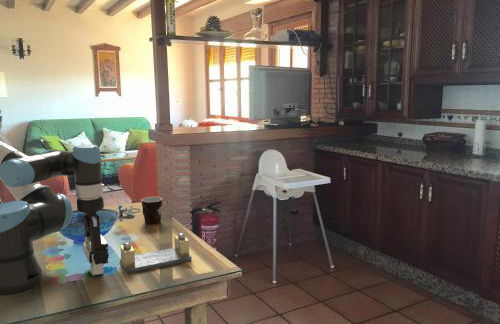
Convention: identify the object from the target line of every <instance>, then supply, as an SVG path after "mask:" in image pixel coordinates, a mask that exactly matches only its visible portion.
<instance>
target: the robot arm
mask: <svg viewBox="0 0 500 324" xmlns="http://www.w3.org/2000/svg"><path fill="white" fill-rule="evenodd" d="M1 113H2V110H1V109H0V180H1V182H2V183H3V184H4V186H5V187H6V188H7V190H8V191H9V193H10V194H11V195H12V196H13V198H14V199H15V200H11V201H9V202H2V203H0V296H1V295H2V296H3V295H11V294H17V293H21V292H24V291H26V290H29V289H31V288H34V287H36V286H37V285H39V284H41V282H42V281H43V279H44V278H43V277H44V275H43V270H42V267H41V265H40V263H39V261H38V259H37V257H36V255H35V253H34V251H35V250H34V242H35V241H37V240H39V239H43V238H45V237H47V236H50V235H52V234H56V233H58V232H60V231H61V230H63V229H65V228H67V226H69V224H70V223H71V221H72V219H73V207H72V203H71V201H70V199H69V197H68V196H67V195H65V194H63V193H59V192H56V193H55V192H54V190H52V188H51V187H50V186H49V185H45V184H44V185H43V184H41V181H42V182H43V181H46V180H49V179H53V178H58V177H61V176H63V177H64V176H65V177H74V187H75V197H76V210H77V211H78V212H80V213H83V221H84V237H85V236H89V235H90V239H91V246H92V252H90V255H92V266H93V275H95V274H99V275H101V274H100V273H103V272H104V266H103V265H102V263H101V261H100V253H103V250H102V242H101V235H102V234H101V233H102V232H101V225H100V221H101V220H100V216H99V215H98V213H97V212H98V211H102V210H103V209H104V208H105V206H104V205H105V203H104V197H103V194H104V193H103V190H104V188H105V184H104V183H103V178H102V177H103V175H102V158H101V157H102V156H101V151H100V150H101V149H100V147H99V146H98V145H96V144H78V145H74V146H73V147H72V150H61V149H47V150H44V151H43V152H42V153H39V154H33V155H27V154H25V153H24V152H22V151H20V150H18V149H16V148H14V146H13V145H12V143H11V142H10V141H9V140H8V138H7V137H6V135H5V134H4V133H3V132H2V130H1V129H2V127H3V124H2V121H3V115H2V114H1ZM94 254H95V261H94V259H93V256H94ZM86 259H87V258H86ZM86 261H88V259H87V260H86ZM103 274H104V273H103ZM95 276H96V275H95Z"/></svg>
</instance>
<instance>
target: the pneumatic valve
mask: <svg viewBox="0 0 500 324" xmlns="http://www.w3.org/2000/svg"><path fill="white" fill-rule="evenodd" d="M101 242H102V250H103V253H100V261H101V263H102V265H103V267H104V265H106V264H109V256H110V255H109V243H108V242H107V240H106V239H105V238H104V236H102V234H101ZM82 250H83V251H82V252H83V254H84V255H85V257H86V259H88V260H87V261H88V262H89V264H90V266H89V267H90V268H89V273H91V275H92V276H93V277H95V276H98V275H99V276H100V275H104V273H105V272H104V271H103V273H100V274H95V275H93V266H92V255H90V252H92V246H91V239H90V235H89V236H85V235H84V242H82ZM93 259H94V261H95V254H94V256H93Z"/></svg>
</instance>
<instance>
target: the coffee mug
mask: <svg viewBox="0 0 500 324" xmlns="http://www.w3.org/2000/svg"><path fill="white" fill-rule="evenodd" d="M140 202H141V206H142V208H141V209H142V216H143V219H144V224H145V225H148V226H150V225H151V226H155V225H158V224H161V221H162V210H163V209H162V207H163V198H162V197H160V196H148V197H144V198H141V199H140Z"/></svg>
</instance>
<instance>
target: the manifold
mask: <svg viewBox="0 0 500 324" xmlns="http://www.w3.org/2000/svg"><path fill="white" fill-rule="evenodd" d="M173 239H174V247H172V248H166V249H161V250H156V251H152V252H144V253H139V254H135V249H134V248H133V246H132V242H131V241H125V242H123V243H122V245H120V246H119V248H120V258H119V263H120V264H121V267H122V268H123V270H124V271H125V273H126V274H127V275H130V274H135V273H139V272H144V271H148V270H154V269H157V268H159V269H160V268H163V267H164V268H165V267H168V266H173V265H178V264H183V263H187V262H191V261H193V260H192V259H193V258H192V255H191V254H190V239H188V238H187V237H186V234H185V232H179V233H177V235H174V238H173Z"/></svg>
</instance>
